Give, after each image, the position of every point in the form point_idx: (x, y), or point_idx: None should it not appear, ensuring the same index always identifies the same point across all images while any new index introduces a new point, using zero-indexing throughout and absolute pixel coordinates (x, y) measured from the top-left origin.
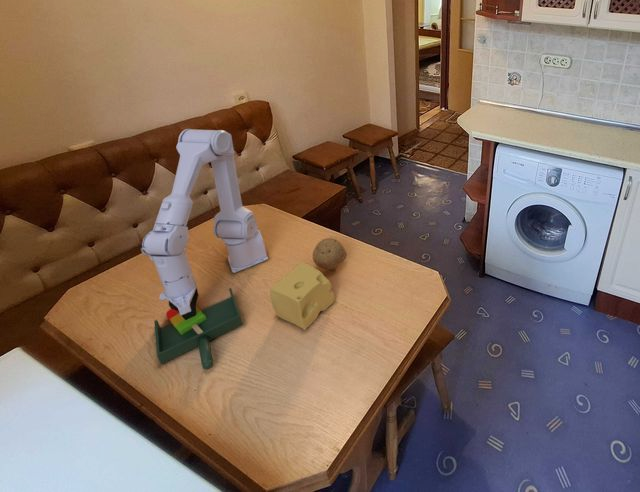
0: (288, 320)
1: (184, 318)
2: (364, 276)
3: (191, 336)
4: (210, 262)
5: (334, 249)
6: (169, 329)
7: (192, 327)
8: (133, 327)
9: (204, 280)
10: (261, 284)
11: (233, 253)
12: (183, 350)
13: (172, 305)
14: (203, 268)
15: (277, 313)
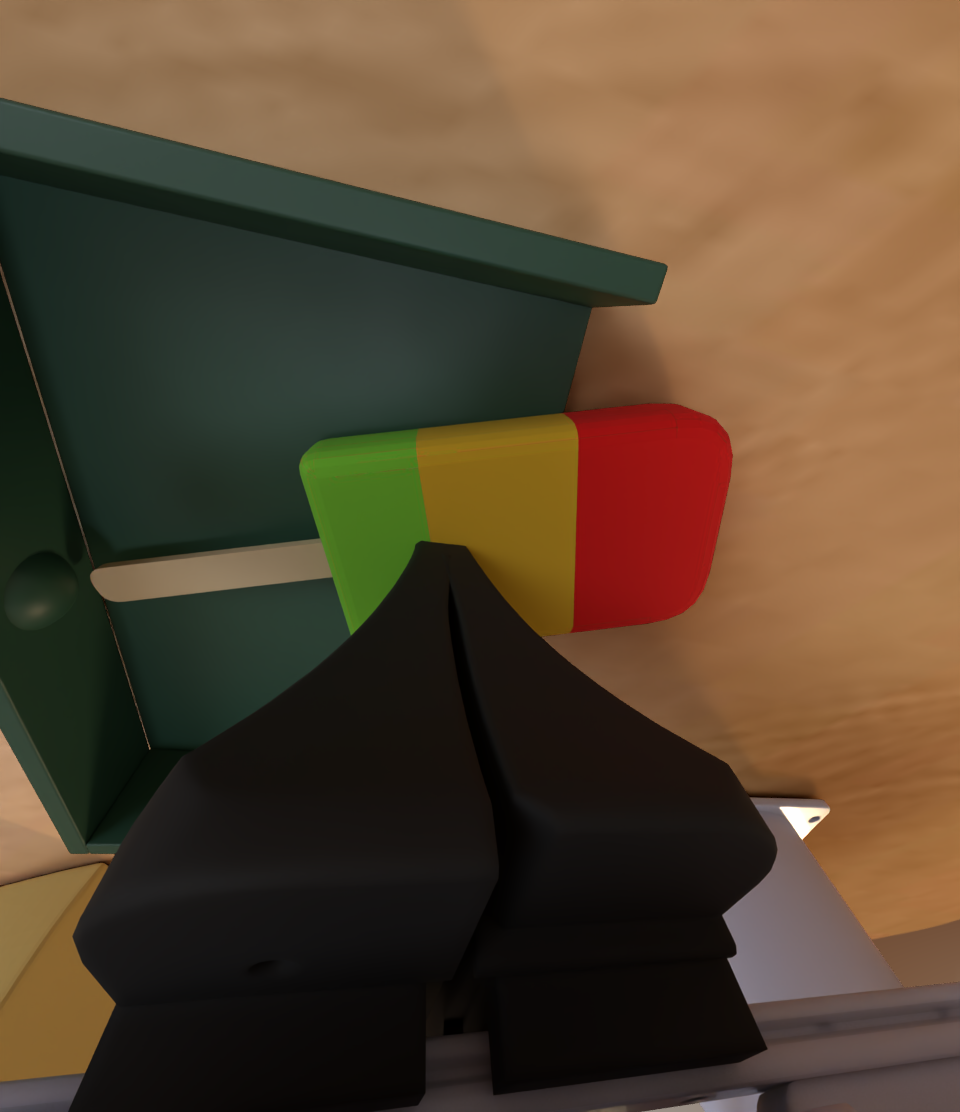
0: (2, 897)
1: (413, 553)
2: None
3: (234, 499)
4: (917, 736)
5: None
6: (492, 373)
7: (306, 545)
8: (938, 32)
9: (802, 685)
10: None
11: (774, 986)
12: None
13: (79, 944)
14: (917, 703)
15: (42, 914)
